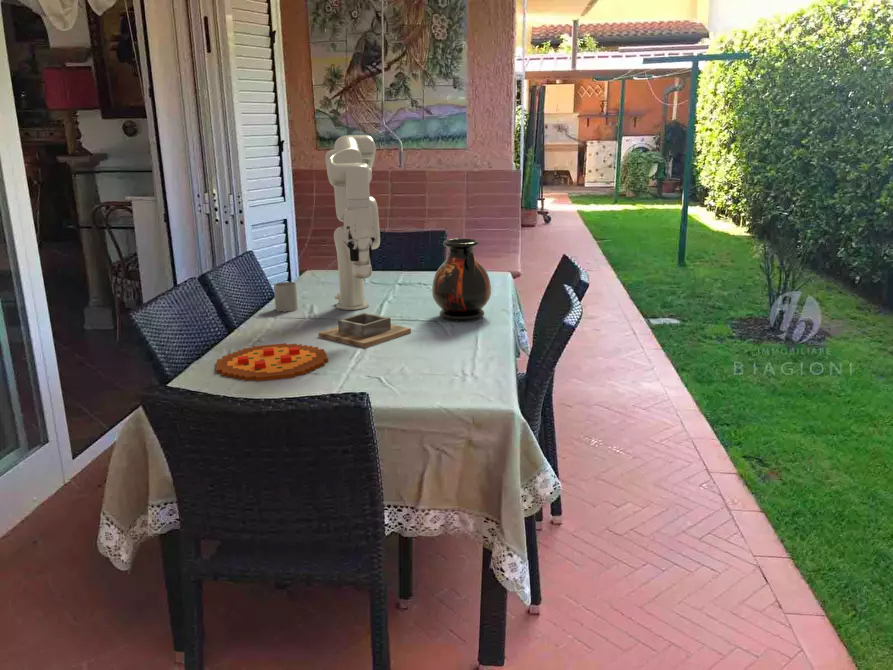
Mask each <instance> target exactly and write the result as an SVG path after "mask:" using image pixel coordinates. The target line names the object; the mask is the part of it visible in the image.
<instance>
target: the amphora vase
mask: <svg viewBox="0 0 893 670" xmlns="http://www.w3.org/2000/svg"><path fill="white" fill-rule="evenodd" d="M479 244H480V242H479V240H477V239H474V238H451V239H446V240H444V241H443V243H442V245H443V246H444V247H447V248H448V255H447V258H446V259H445V260H444V262H443V263H442V264H441V265H440V266H438V269H437V270H436V272H435V274H434V277H433V280H432V286H431V287H432V289H431V291H432V292H431V293H432V297H433V301H434V302H435V304H436V305H437V306H438V307H439V308H440V309H441V310H440V311H439V317H441V318H442V319H443V320H446V321H450V322H463V323H464V322H472V321H477V320H480V319H481V318H483V317H484V315H485V311H484V310H483V308H484V307H485V306H486V305H487V303H488V302H489V300H490V298H491V296H492V285H491V280H490V277H489V275H488V272H487V269H486V268H485V267H484V266H483V265H482V263H481V262H480V261H478V259H477V258H476V257H475V255H474V248H475V247H478V245H479Z"/></svg>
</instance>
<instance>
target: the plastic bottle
mask: <svg viewBox="0 0 893 670" xmlns="http://www.w3.org/2000/svg"><path fill="white" fill-rule="evenodd" d="M351 238H352V237H351ZM353 243H354V241H352V244H353ZM369 243H370V232H369V231H368V230H367V229H364V230H362V232H361V233H360V235H359V240H357V248H356V249H358V261H357V262H355V261H353V267H352V273H353V276H354V277H355V278H358V279H363V280H364V279H368V278H369V279H370V278H371V276H372V273H373V272H372V271H373V269H372V268H373V267H372V264H371V259H370V256H369Z"/></svg>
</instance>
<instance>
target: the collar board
mask: <svg viewBox="0 0 893 670" xmlns="http://www.w3.org/2000/svg"><path fill="white" fill-rule="evenodd" d="M337 324H338V325H337V326H336V327H333V328H329V329H326V330H323V331H322V330H321V331H319V332H317V333H318V338H321V339H326V340H330V341H335V342H339V343H343V344H346V345H350V346H351V345H352V346H355V347H359V348H363V349H364V348H365V349H366V348H368V347H369V348H370V347H372V346H375V345H378V344H380V343H384V342H387V341H390V340H392V339H393V340H394V339H395V338H398V337H402V336H405V335H407V334H408V335H409V334H411V333H412V328H410V327H405V326H401V325H395V324H392V323H391V317H387V316H384V315H383V316H382V315H377V314H373V313H367V312H362V313H358V314H355V315H352V316H351V315H350V316H348V317H345V318H341V319H337ZM377 343H378V344H377ZM374 344H375V345H374Z"/></svg>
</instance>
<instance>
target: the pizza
mask: <svg viewBox="0 0 893 670" xmlns="http://www.w3.org/2000/svg"><path fill="white" fill-rule="evenodd" d="M325 363H329V358H328V356H327V353H326V351H325V349H324V348H319V346H313V345H309V346H308V345H306V344H305V345H303V344H301V343H300V344H297V343H290V344H289V343H287V342H284V343H274V344H273V343H272V344H264V345H263V344H262V345H252V347H245V348H242V349H239V350H238V349H237V351H232V353H228V354H227V355H222V356H221V358H219V359H218V358H217V359H216V375H218V374H219V375H220V374H221V375H222V378H223V377H227V378H228V379H229V378H233V379H234V380H235V379H239V381H241V380H242V381H243V380H244V382H248V381H256V382H265V381H275V380H282V379H291V378H292V379H293V378H296V376H304V375H305V376H306V374H307V373H311V371H315V370H316V369H320V368H321V367H325Z"/></svg>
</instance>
